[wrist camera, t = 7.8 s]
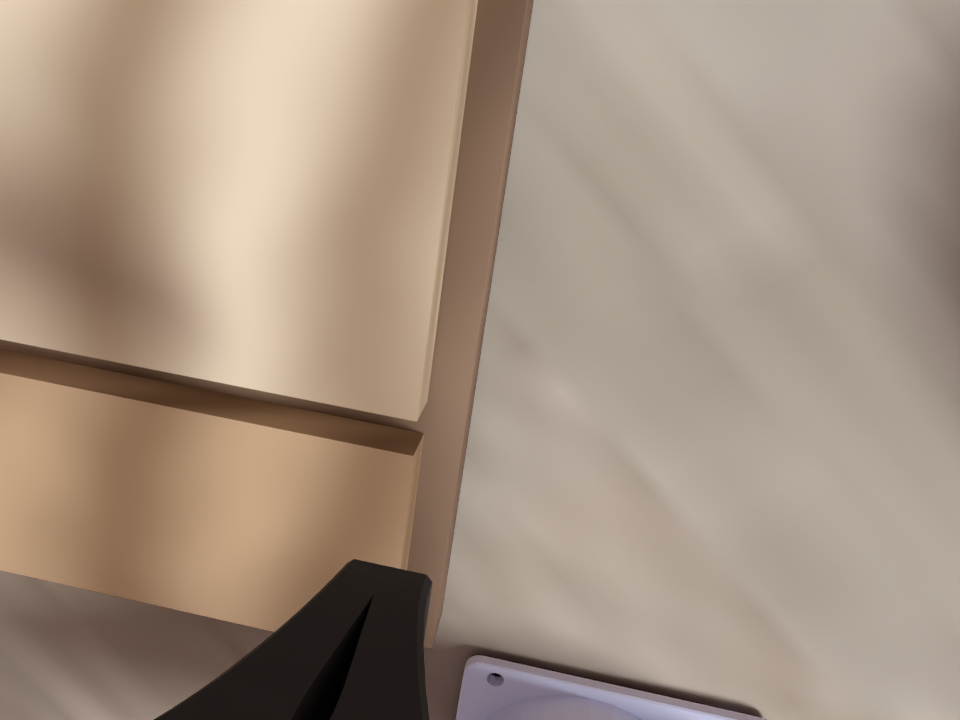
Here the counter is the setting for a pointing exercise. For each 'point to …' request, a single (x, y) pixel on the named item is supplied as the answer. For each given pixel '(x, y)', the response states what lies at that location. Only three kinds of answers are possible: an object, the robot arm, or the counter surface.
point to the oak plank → (234, 187)
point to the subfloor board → (260, 437)
